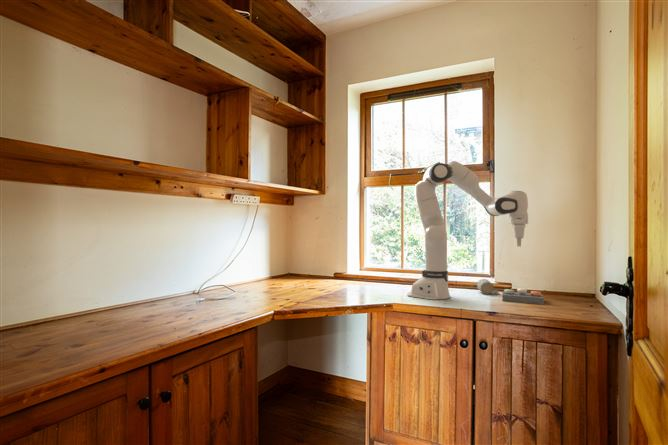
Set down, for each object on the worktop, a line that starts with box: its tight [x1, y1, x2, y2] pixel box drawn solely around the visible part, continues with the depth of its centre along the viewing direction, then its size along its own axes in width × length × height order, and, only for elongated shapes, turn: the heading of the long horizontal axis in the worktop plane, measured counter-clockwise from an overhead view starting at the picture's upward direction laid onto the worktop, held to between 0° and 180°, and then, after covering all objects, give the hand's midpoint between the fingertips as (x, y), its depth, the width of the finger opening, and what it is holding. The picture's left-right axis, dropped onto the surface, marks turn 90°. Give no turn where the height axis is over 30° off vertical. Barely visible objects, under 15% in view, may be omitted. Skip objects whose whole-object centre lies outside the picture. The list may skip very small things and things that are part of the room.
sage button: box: [503, 288, 515, 294], centre depth 177 cm, size 4×4×4 cm
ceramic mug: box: [476, 278, 499, 295], centre depth 193 cm, size 11×8×8 cm
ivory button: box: [516, 287, 528, 295], centre depth 175 cm, size 4×4×4 cm
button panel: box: [501, 290, 545, 305], centre depth 174 cm, size 18×12×3 cm, turn 63°
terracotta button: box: [530, 290, 542, 296], centre depth 172 cm, size 4×4×4 cm
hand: (519, 246), depth 184 cm, fingers closed
